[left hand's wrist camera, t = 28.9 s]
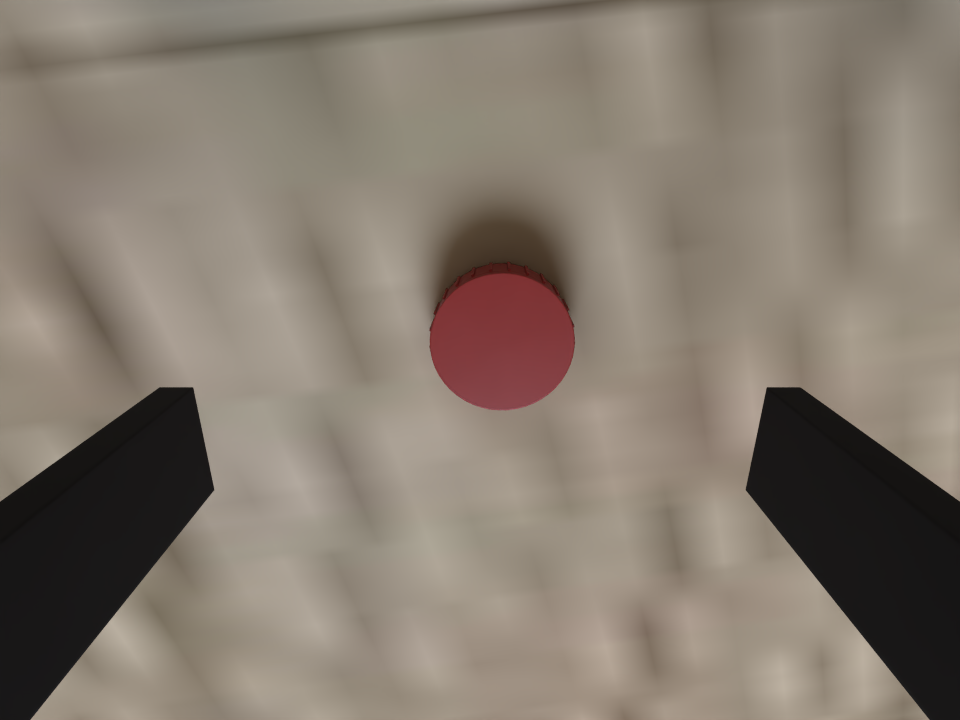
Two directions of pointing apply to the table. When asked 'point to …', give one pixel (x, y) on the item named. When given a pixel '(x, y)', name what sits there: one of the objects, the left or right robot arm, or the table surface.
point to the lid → (502, 337)
